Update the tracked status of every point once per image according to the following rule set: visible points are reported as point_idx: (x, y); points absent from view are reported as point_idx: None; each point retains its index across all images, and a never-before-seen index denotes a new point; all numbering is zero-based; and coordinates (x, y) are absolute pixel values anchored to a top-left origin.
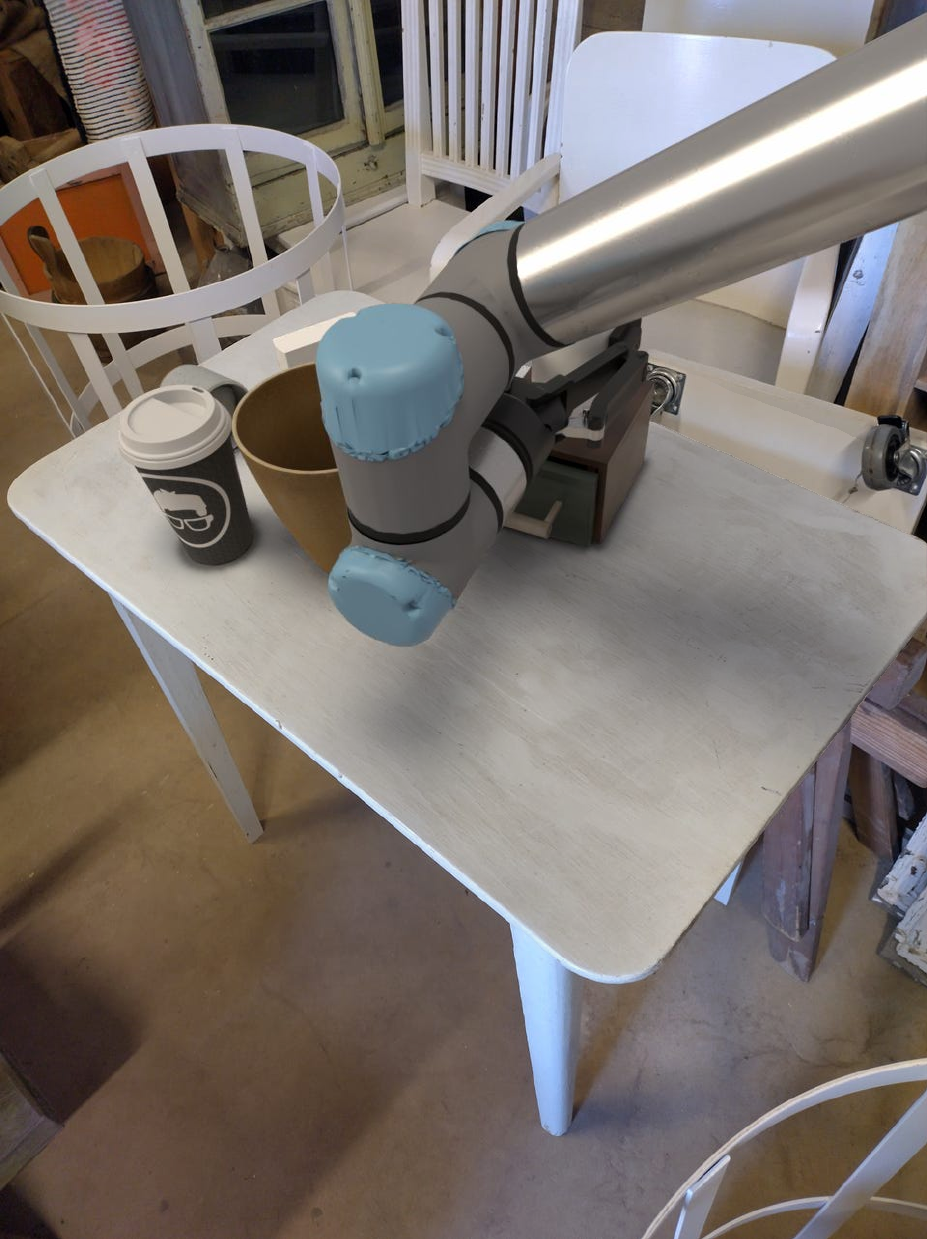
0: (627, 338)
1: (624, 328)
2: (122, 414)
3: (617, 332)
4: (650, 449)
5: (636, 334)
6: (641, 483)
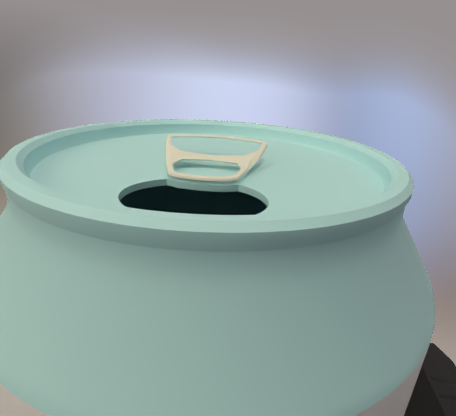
0: (446, 414)
1: (422, 371)
2: None
3: (419, 403)
4: None
5: (449, 379)
6: None
